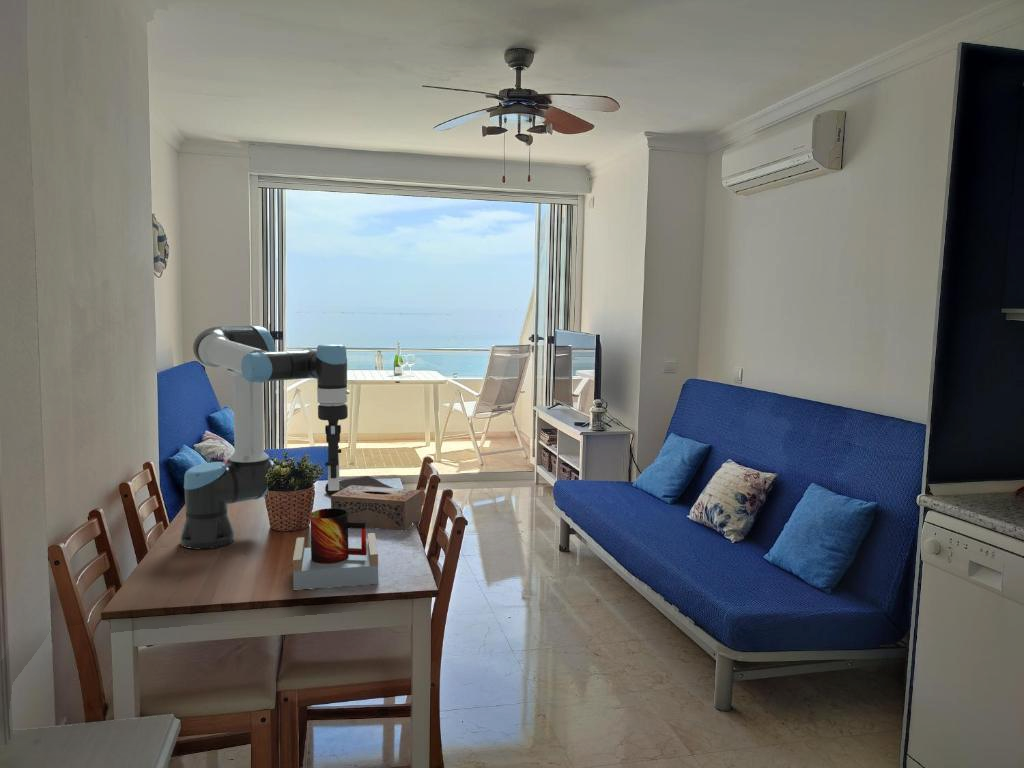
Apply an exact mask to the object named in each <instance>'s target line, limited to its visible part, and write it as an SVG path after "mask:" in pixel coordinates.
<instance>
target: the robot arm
mask: <svg viewBox="0 0 1024 768" xmlns="http://www.w3.org/2000/svg"><path fill="white" fill-rule="evenodd" d="M192 352H193V355H194V357H195V358H196V359H197V361H199V362H200V363H201V364H203V365H205V366H209V367H212V368H217V367H222V368H225V369H227V371H228V373H230V374H231V375H232V390H233V391H232V395H233V398H232V399H233V437H234V438H233V439H234V441H233V443H234V452H233V453H232V455H230V456H229V465H226V463H225V462H223V461H213V462H204V463H200V464H197V465H194V466H192V467H190V468H189V469H187V470H186V472H184V477H183V478H184V481H183V489H184V503H185V504H184V505H185V507H184V508H185V520H184V523H183V526H182V530H181V534H180V537H179V541H180V542H179V544H180V543H181V544H182V545H183V546H186V547H191V548H210V549H212V548H211V547H216V548H218V547H217V546H221V547H223V546H222V545H224V546H226V545H225V544H227V545H229V544H232V543H233V542H234V541H235V539H234V538H235V530H234V528H233V525H232V522H231V520H230V517H229V514H228V505H230V504H235V503H240V502H241V503H242V502H247V501H250V500H251V501H252V500H259V499H261V498H265V494H267V491H268V485H267V482H266V481H267V477H265V475H266V474H267V473H268V469H269V468H270V467H273V465H274V464H275V463H274V461H273V460H272V459H270V456H269V454H267V453H266V452H265V450H264V449H265V447H264V443H265V442H264V388H263V387H264V386H263V385H264V384H263V383H267V382H276V381H289V380H304V379H315V380H317V381H316V382H317V387H316V390H317V391H316V393H317V403H318V406H317V417H318V420H321V421H327V423H328V424H327V425H325V427H324V428H325V429H324V433H325V435H326V436H325V437H326V438H325V439H326V443H327V446H328V447H327V452H328V453H327V454H328V455H327V457H328V459H327V461H325V465H324V466H325V467H327V483H328V491H334V490H339V481H340V454H342V449H341V448H340V446H339V443H340V441H341V433H342V428H341V427H342V426H341V425H342V424H339V421H340V420H341V421H342V420H346V419H347V418H348V414H349V412H348V410H349V409H348V408H349V407H348V405H347V402H348V395H350V394H351V393H350V392H351V391H350V390H348V356H347V355H348V354H347V348H346V346H345V345H344V344H337V343H333V344H332V343H326V344H323V343H322V344H319V345H317V347H316V350H313V349H309V348H307V349H306V348H305V349H303V348H302V349H299V350H290V351H289V350H288V351H287V350H284V351H276V345H275V341H274V338H273V337H272V335H271V333H270V331H269V330H268V329H267V328H265V327H263V326H258V325H239V326H236V325H235V326H212V327H210V328H206V329H205V330H203V331H201V332H200V333H198V335H197V336H196V337H195V339H194V341H193V345H192ZM233 540H234V541H233ZM232 541H233V542H232ZM228 543H229V544H228Z"/></svg>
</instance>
